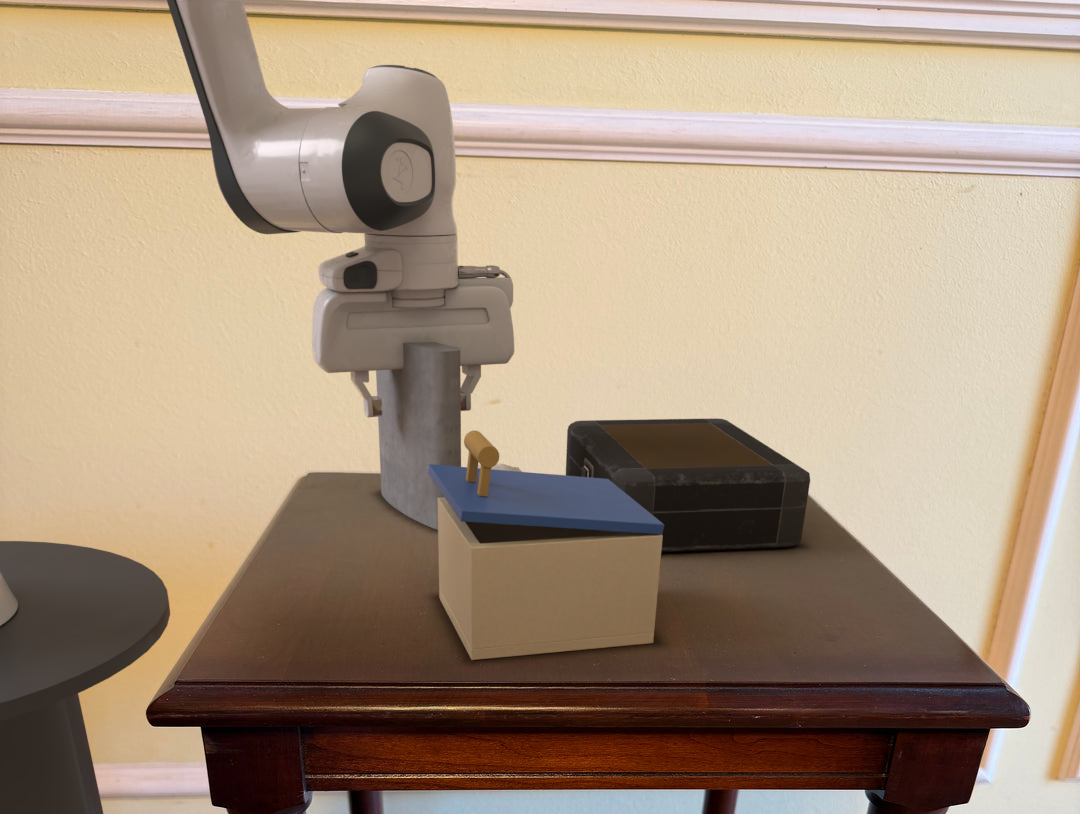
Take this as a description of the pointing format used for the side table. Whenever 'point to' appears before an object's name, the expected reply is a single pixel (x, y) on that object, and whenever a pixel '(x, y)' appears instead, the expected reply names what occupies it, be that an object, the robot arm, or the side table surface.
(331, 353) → the robot arm
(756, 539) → the cash box
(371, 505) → the side table surface
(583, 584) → the chest
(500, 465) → the arrowhead
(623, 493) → the lid
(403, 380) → the hip flask
